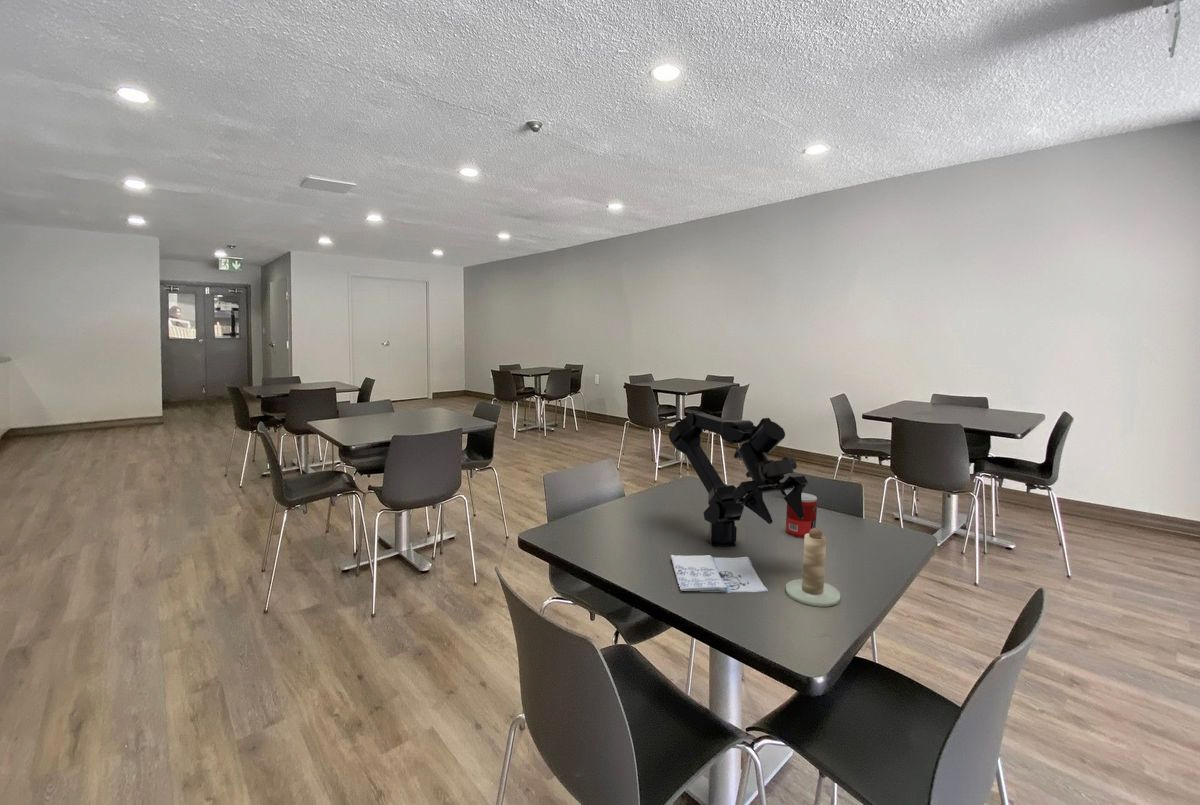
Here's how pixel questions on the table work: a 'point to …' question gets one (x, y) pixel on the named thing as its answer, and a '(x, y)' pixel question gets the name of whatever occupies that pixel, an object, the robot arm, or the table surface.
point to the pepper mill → (814, 562)
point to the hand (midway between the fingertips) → (786, 520)
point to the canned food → (805, 524)
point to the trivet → (823, 600)
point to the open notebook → (716, 574)
